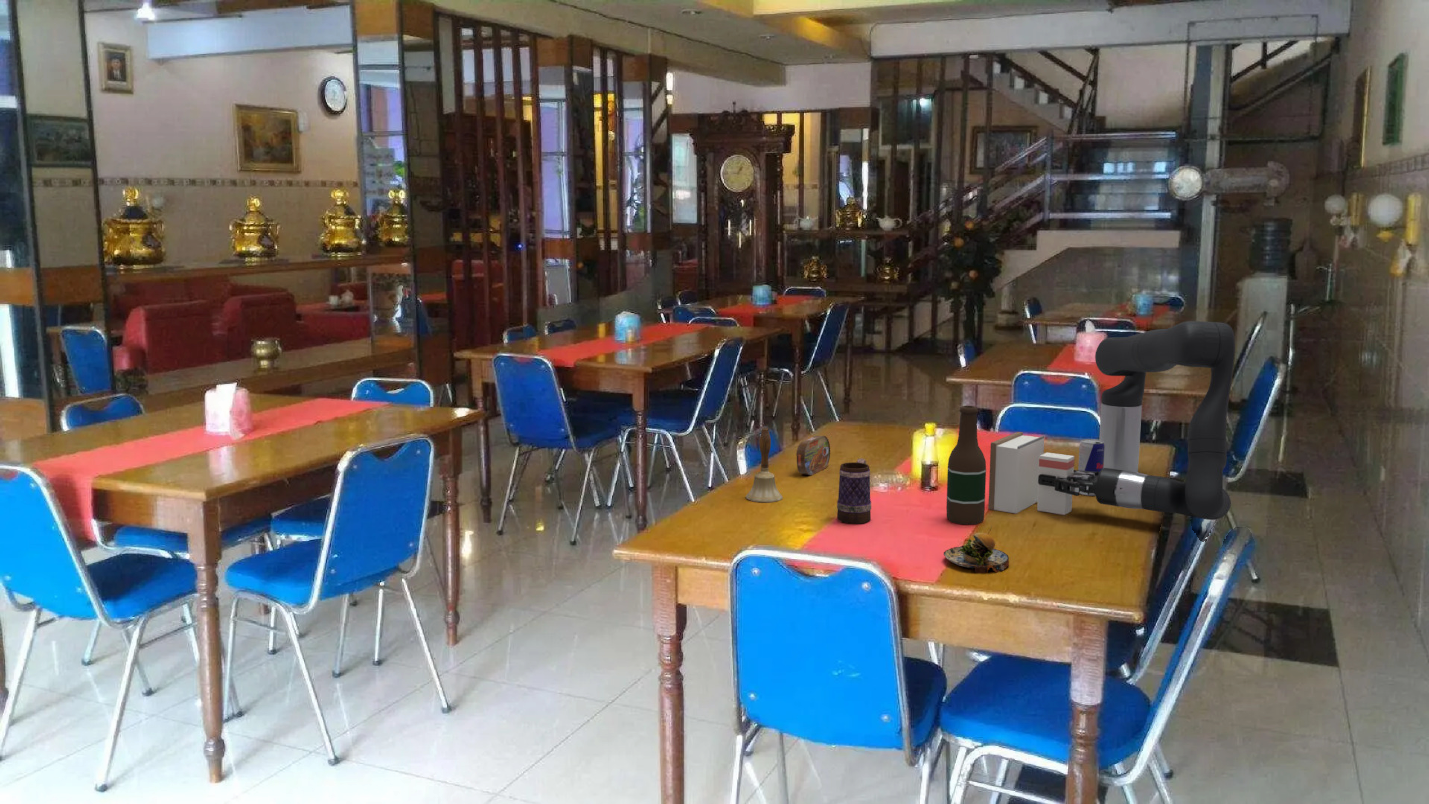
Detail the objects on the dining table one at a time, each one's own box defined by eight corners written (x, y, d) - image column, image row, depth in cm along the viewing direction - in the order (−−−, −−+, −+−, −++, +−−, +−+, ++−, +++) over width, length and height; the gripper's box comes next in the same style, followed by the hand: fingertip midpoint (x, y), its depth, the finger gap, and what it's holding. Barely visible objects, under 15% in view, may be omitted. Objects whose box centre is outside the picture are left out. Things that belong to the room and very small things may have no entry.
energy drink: (1103, 496, 254) (1106, 444, 252) (1078, 495, 255) (1081, 443, 253) (1100, 490, 259) (1103, 439, 257) (1075, 489, 260) (1078, 438, 258)
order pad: (1015, 495, 255) (1017, 431, 253) (1041, 499, 252) (1044, 435, 249) (988, 509, 244) (990, 442, 242) (1015, 513, 240) (1018, 446, 238)
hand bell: (788, 495, 257) (788, 426, 254) (774, 504, 249) (774, 433, 246) (754, 491, 260) (754, 423, 257) (739, 500, 253) (739, 430, 250)
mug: (864, 526, 232) (865, 469, 230) (832, 522, 235) (832, 465, 233) (879, 513, 241) (880, 458, 239) (848, 510, 244) (848, 455, 242)
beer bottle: (986, 516, 238) (990, 404, 234) (982, 526, 231) (986, 410, 227) (948, 513, 241) (952, 402, 237) (943, 523, 234) (947, 408, 229)
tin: (805, 478, 272) (806, 444, 271) (793, 477, 274) (794, 443, 272) (831, 466, 285) (831, 433, 284) (819, 464, 287) (820, 432, 285)
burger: (946, 552, 215) (947, 514, 214) (1010, 557, 212) (1012, 519, 211) (940, 572, 204) (941, 532, 203) (1007, 577, 201) (1009, 537, 199)
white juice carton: (1044, 506, 246) (1046, 452, 244) (1071, 510, 242) (1074, 456, 240) (1036, 510, 243) (1039, 455, 241) (1064, 515, 239) (1067, 459, 237)
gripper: (1136, 464, 238) (1056, 454, 248) (1113, 477, 227) (1030, 466, 237) (1133, 499, 239) (1054, 487, 249) (1110, 514, 228) (1029, 500, 238)
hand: (1043, 477), depth 243 cm, fingers closed on white juice carton, 4 cm apart
